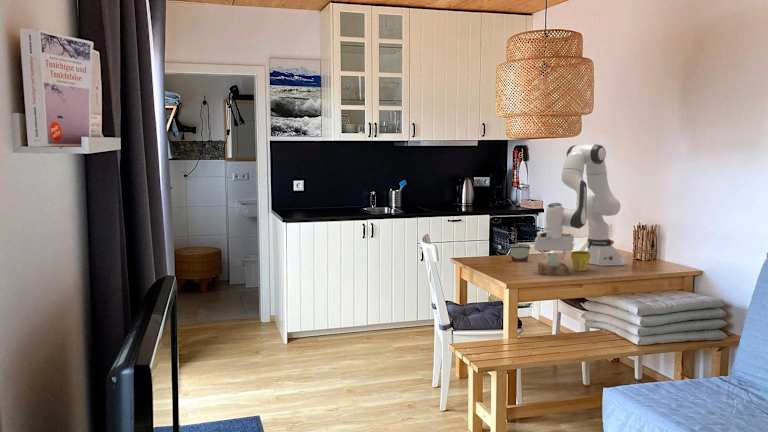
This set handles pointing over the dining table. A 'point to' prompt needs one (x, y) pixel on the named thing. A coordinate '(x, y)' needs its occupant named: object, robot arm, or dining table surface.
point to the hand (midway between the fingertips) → (553, 258)
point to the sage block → (553, 260)
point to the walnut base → (553, 269)
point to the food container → (519, 252)
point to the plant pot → (580, 260)
